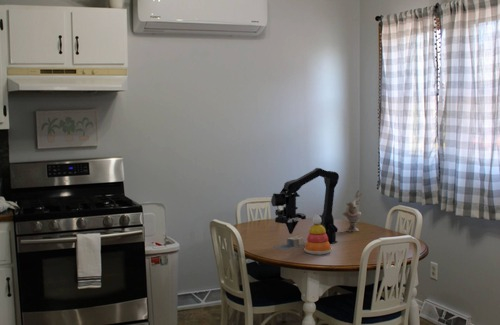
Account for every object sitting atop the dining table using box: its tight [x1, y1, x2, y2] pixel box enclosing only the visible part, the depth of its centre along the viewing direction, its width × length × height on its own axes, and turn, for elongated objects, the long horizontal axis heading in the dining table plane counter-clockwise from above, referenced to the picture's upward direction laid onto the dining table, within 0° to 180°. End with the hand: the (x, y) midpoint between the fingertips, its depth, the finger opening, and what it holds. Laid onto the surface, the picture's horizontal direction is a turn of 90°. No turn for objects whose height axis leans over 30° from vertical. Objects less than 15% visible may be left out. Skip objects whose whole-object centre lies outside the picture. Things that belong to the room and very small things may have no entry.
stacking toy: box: [303, 214, 333, 256], centre depth 282 cm, size 14×14×20 cm
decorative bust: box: [342, 190, 363, 232], centre depth 334 cm, size 11×13×25 cm
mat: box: [272, 242, 307, 251], centre depth 297 cm, size 10×20×1 cm, turn 133°
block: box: [286, 236, 305, 246], centre depth 299 cm, size 5×4×8 cm
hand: (290, 233), depth 296 cm, fingers closed
